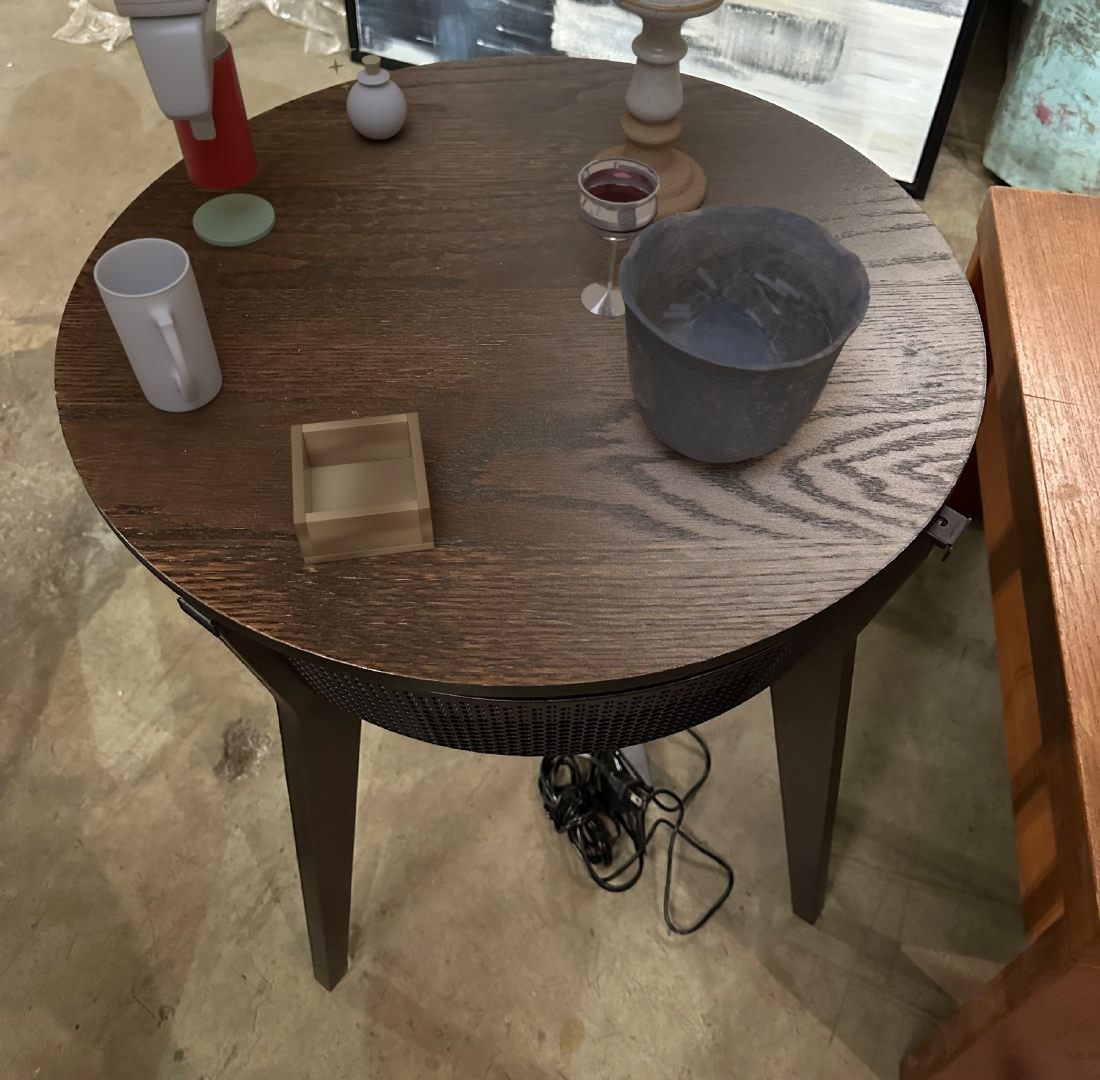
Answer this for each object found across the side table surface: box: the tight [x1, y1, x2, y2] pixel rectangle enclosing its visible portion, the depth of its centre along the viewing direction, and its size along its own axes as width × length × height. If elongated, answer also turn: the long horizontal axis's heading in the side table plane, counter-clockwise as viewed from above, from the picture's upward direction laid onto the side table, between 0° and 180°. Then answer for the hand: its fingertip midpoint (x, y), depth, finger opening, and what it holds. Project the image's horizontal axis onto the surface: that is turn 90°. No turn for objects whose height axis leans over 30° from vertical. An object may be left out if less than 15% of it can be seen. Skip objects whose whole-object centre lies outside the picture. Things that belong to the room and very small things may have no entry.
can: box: [172, 29, 259, 191], centre depth 89 cm, size 6×6×12 cm
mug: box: [93, 237, 223, 413], centre depth 79 cm, size 10×7×12 cm, turn 28°
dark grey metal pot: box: [617, 203, 871, 464], centre depth 77 cm, size 18×18×15 cm
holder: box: [290, 411, 435, 565], centre depth 75 cm, size 9×9×5 cm
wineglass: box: [575, 157, 660, 318], centre depth 88 cm, size 7×7×12 cm
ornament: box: [327, 44, 408, 140], centre depth 103 cm, size 6×7×10 cm
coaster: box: [192, 193, 277, 248], centre depth 98 cm, size 8×8×1 cm
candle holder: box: [588, 0, 725, 225], centre depth 95 cm, size 12×12×20 cm
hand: (207, 111), depth 89 cm, fingers closed on can, 6 cm apart
